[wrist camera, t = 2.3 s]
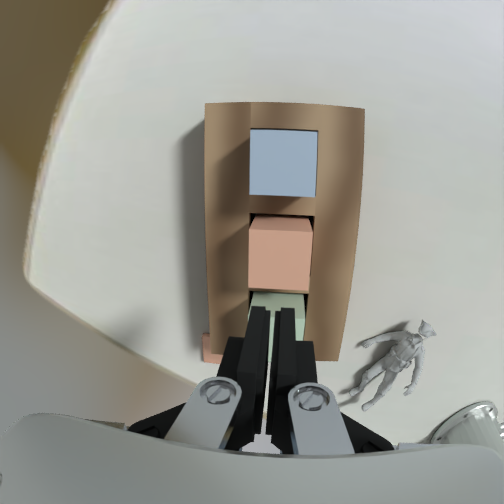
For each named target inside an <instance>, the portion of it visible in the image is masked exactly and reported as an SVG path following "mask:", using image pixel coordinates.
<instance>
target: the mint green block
mask: <svg viewBox="0 0 504 504" xmlns="http://www.w3.org/2000/svg"><path fill="white" fill-rule="evenodd" d="M251 306H266V310H271V317H270V336H269V354H268V362H271V357H272V345H273V332H274V320H275V311H281V307H284V308H295V329H296V340H298V341H303V335H304V327H305V309H304V297H303V293H285V292H267V291H254V294H253V298H252V302H251ZM251 306H250V310H251ZM250 310H249V314H248V320H249V315H250Z"/></svg>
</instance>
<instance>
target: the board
mask: <svg viewBox="0 0 504 504" xmlns="http://www.w3.org/2000/svg"><path fill="white" fill-rule="evenodd" d="M364 121H365V109H361V108H353V107H343V106H332V105H320V104H304V103H280V102H231V103H206V104H205V132H204V186H205V238H206V267H207V291H208V310H209V328H210V344H211V354H219V355H223V353H224V350H225V347H226V343H227V340H228V337H229V336H233V337H245V333H246V329H247V324H248V314H249V310H250V291H267V292H285V293H306V294H308V295H307V305H306V315H305V327H304V335H303V341H313V344H314V353H315V361H338V358H339V353H340V348H341V343H342V338H343V332H344V327H345V321H346V315H347V309H348V303H349V297H350V291H351V284H352V277H353V269H354V262H355V254H356V245H357V236H358V227H359V216H360V204H361V191H362V176H363V157H364ZM252 129H285V130H306V131H317V166H316V189H315V197H299V196H276V195H249V191H250V130H252ZM251 213H266V214H289V215H309V216H314V219H313V239H312V253H311V265H310V277H309V288H308V291H304V290H283V289H265V288H248V272H249V228H250V226H251Z"/></svg>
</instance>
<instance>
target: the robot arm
mask: <svg viewBox="0 0 504 504" xmlns="http://www.w3.org/2000/svg"><path fill="white" fill-rule="evenodd" d="M270 317H271V310H266V306H251V310H250V315H249V320H248V324H247V329H246V333H245V337H233V336H229V337H228V340H227V343H226V347H225V350H224V353H223V357H222V360H221V363H220V367H219V370H218V373H217V376H216V377H211V378H208V379H205V380H203V381H202V382H200V383H199V384H198V385H197V386H196V388H195V389H194V391H193V393H192V394H191V396H190V398H189V399H188V401H187V402H186V403H183V404H181V405H179V406H176V407H174V408H171V409H169V410H167V411H164V412H162V413H160V414H157V415H154V416H151V417H149V418H146V419H144V420H141V421H138V422H136V423H134V424H133V425H131V426H130V427H129V426H126V425H125V423H117V422H105V421H96V420H88V419H81V418H77V417H72V416H68V415H60V414H47V413H37V414H29V415H27V416H23V417H22V418H20V419H18V420H17V421H16V422H14V423H13V424H12V425H11V426H10V427H9V428H8V429H7V430H6V431H5V432H4V433H3V434H2V435H1V436H0V504H504V441H503V439H504V422H503V423H501V424H499V423H498V421H497V419H496V418H497V414H498V411H497V408H496V406H495V405H494V404H493V403H492V402H479V403H476V404H473V405H471V406H469V407H466V408H464V409H463V410H461V411H459V412H458V413H456V414H455V415H453V416H452V417H451V418H449V419H448V420H447V421H446V422H445V423H444V424H443V425H442V426H441V427H440V428H439V429H438V430H437V431H436V433H435V434H434V436H433V437H432V440H431V443H430V444H415V443H399V444H398V445H397V446H396V445H392V444H391V443H390V442H389V441H388V440H386V439H385V438H383V437H381V436H380V435H378V434H376V433H374V432H373V431H371V430H369V429H368V428H366V427H364V426H363V425H361V424H359V423H358V422H356V421H355V420H353V419H351V418H350V417H348V416H346V415H345V414H343V413H342V412H340V410H339V407H338V404H337V401H336V399H335V396H334V394H333V392H332V391H331V390H330V389H329V388H328V387H326V386H324V385H322V384H318V382H317V372H316V362H315V353H314V344H313V341H298V340H296V329H295V308H284V307H281V311H275V320H274V332H273V345H272V357H271V368H270V381H269V395H268V409H267V422H266V434H267V435H272V437H271V443H272V444H274V445H275V446H276V447H277V448H278V449H280V454H267V453H254V452H243V451H242V447H243V446H245V445H247V444H248V443H250V442H254V435H255V434H261V426H262V417H263V408H264V399H265V389H266V380H267V369H268V354H269V336H270Z"/></svg>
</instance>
